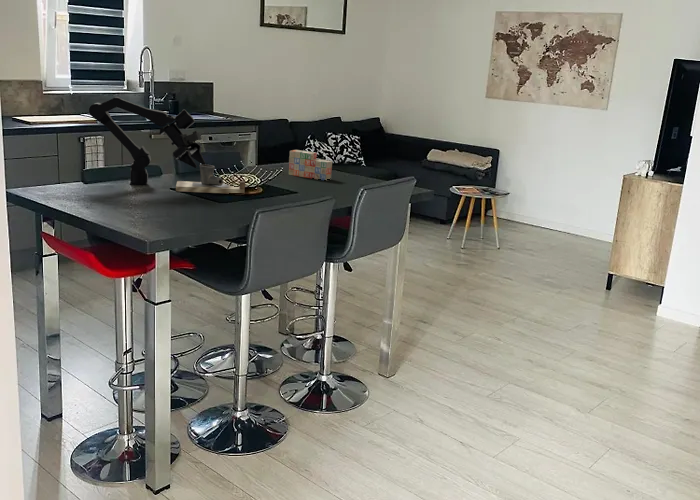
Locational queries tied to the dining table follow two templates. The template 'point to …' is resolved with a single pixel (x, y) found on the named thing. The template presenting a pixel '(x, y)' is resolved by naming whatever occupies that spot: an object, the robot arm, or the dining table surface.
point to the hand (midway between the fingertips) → (200, 165)
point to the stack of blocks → (309, 165)
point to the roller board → (209, 187)
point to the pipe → (209, 175)
